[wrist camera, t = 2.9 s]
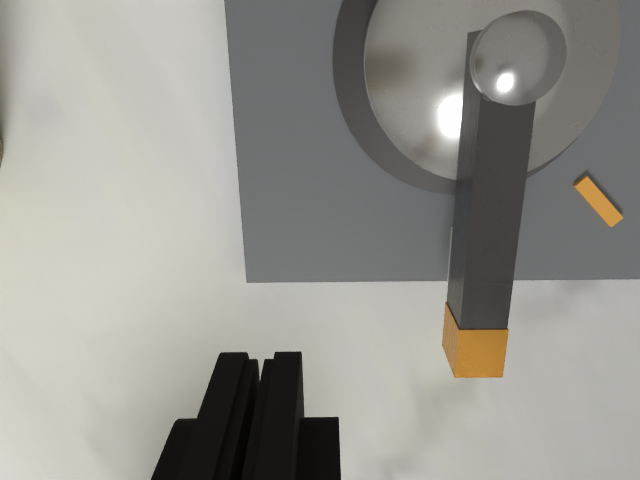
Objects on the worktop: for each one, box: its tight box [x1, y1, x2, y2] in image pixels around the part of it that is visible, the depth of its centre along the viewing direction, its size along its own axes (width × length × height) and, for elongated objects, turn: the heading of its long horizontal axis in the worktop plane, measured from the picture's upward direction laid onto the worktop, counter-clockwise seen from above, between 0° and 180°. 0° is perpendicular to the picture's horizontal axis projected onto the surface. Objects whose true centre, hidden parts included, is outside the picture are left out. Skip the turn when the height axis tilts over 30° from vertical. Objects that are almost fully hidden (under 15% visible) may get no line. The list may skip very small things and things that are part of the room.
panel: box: [224, 0, 640, 283], centre depth 23 cm, size 22×22×2 cm
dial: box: [362, 0, 621, 378], centre depth 21 cm, size 18×10×6 cm, turn 1°
